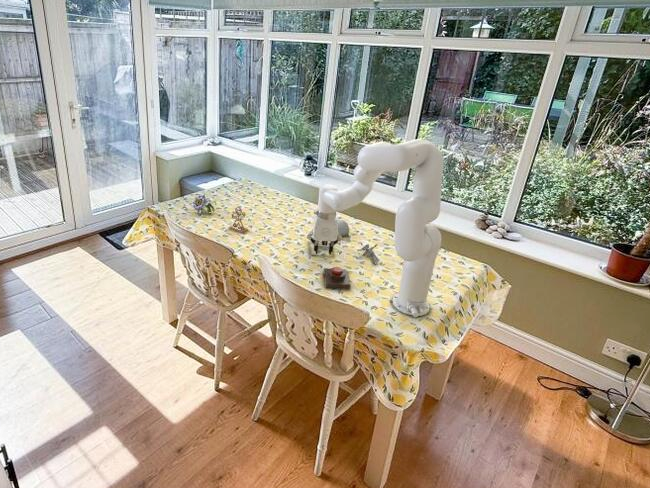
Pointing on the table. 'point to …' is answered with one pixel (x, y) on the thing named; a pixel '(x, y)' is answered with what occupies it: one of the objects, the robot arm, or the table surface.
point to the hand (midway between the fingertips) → (323, 252)
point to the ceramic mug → (343, 228)
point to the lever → (323, 246)
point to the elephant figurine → (370, 253)
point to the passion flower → (202, 204)
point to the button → (337, 271)
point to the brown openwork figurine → (239, 221)
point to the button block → (336, 279)
